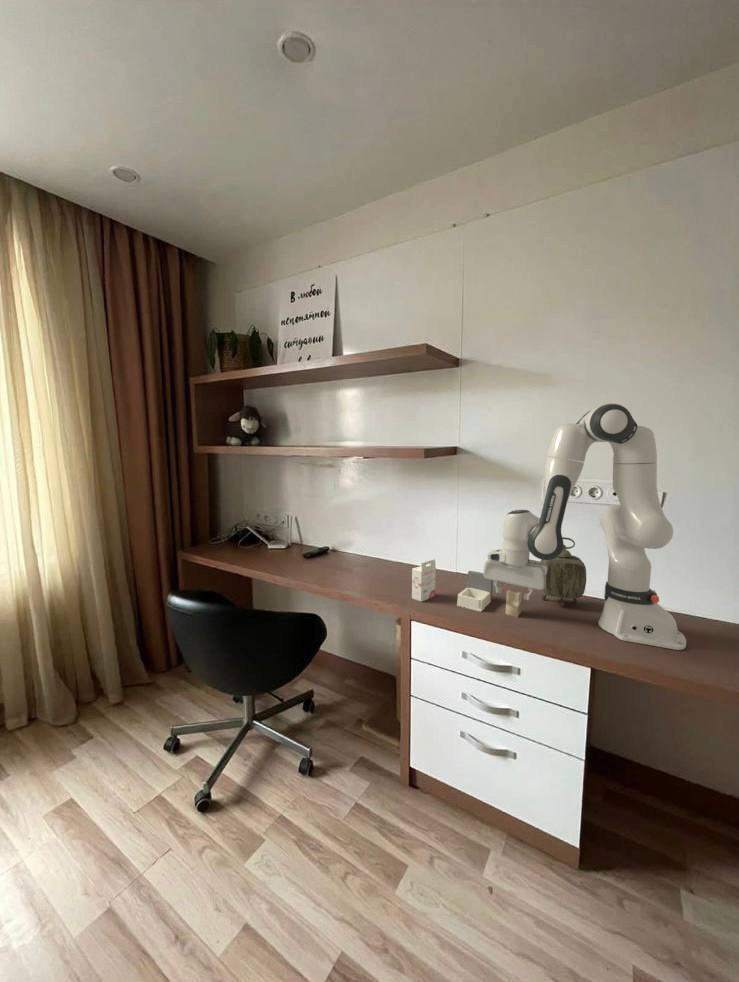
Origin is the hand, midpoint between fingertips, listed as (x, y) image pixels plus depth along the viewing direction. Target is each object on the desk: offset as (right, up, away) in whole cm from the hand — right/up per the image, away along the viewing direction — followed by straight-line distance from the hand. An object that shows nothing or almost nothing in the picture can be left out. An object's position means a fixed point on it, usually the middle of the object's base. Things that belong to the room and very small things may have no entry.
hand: (512, 596), depth 135 cm
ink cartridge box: (-29, -5, +15) cm, 33 cm away
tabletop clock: (+21, -6, +9) cm, 24 cm away
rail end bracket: (0, -6, +1) cm, 6 cm away
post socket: (-11, -5, +9) cm, 15 cm away
